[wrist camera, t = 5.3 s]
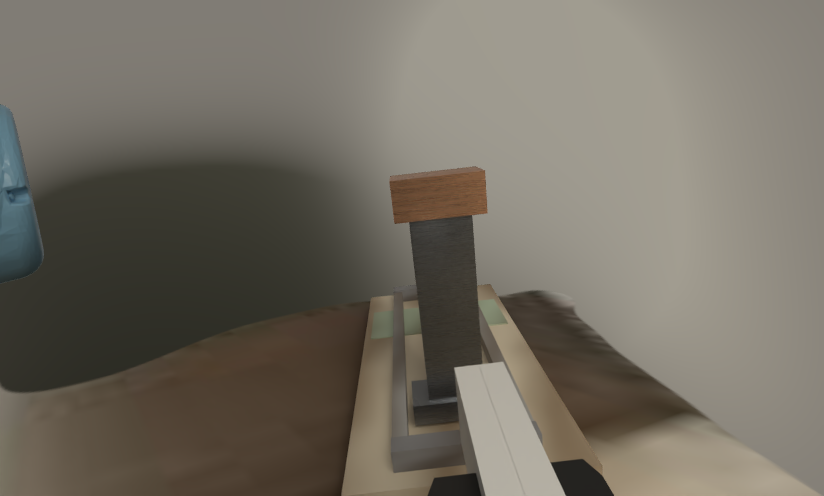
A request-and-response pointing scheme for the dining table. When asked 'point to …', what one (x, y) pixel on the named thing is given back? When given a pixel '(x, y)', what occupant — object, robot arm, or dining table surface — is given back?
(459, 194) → the fader lever
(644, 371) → the dining table surface
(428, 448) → the fader console
